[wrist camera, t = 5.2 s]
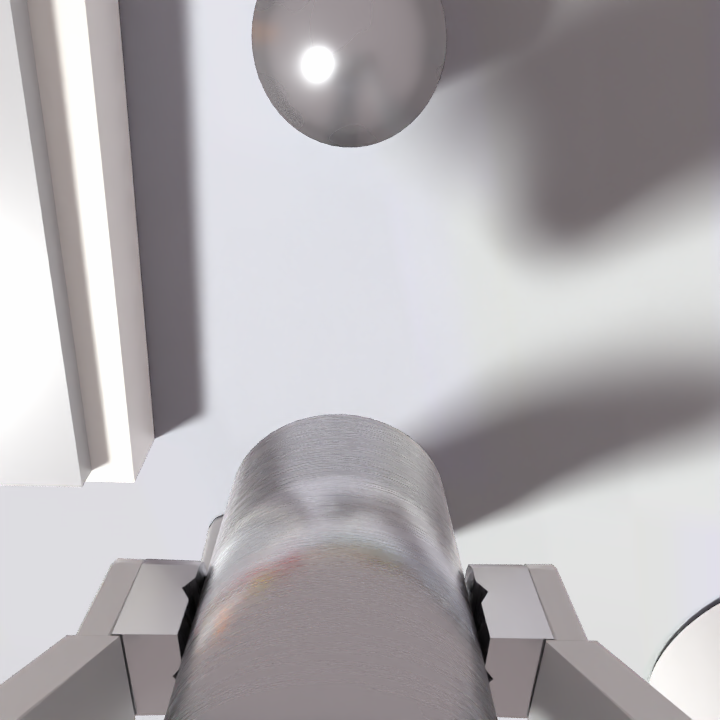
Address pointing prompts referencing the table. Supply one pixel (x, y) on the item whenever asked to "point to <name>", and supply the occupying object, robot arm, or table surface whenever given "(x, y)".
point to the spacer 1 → (349, 64)
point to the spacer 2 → (334, 588)
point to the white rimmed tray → (68, 252)
